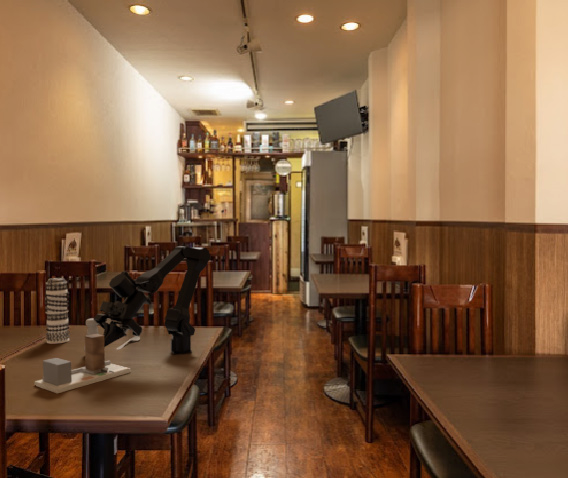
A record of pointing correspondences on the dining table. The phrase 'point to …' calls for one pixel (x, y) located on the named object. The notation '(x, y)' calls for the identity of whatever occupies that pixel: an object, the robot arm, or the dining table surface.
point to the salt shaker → (91, 327)
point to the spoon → (129, 340)
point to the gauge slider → (94, 354)
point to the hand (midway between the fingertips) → (101, 347)
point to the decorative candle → (57, 311)
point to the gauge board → (73, 375)
